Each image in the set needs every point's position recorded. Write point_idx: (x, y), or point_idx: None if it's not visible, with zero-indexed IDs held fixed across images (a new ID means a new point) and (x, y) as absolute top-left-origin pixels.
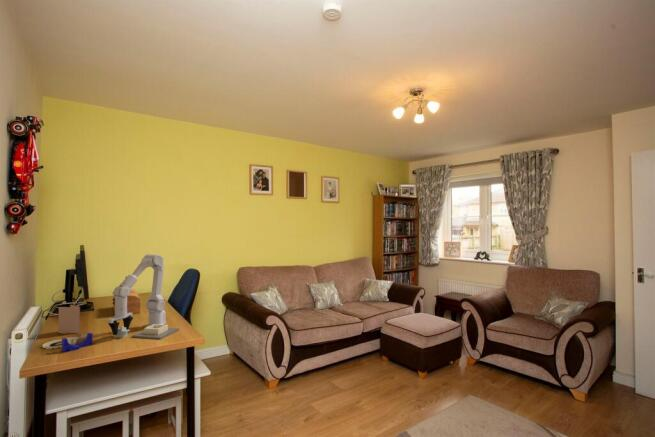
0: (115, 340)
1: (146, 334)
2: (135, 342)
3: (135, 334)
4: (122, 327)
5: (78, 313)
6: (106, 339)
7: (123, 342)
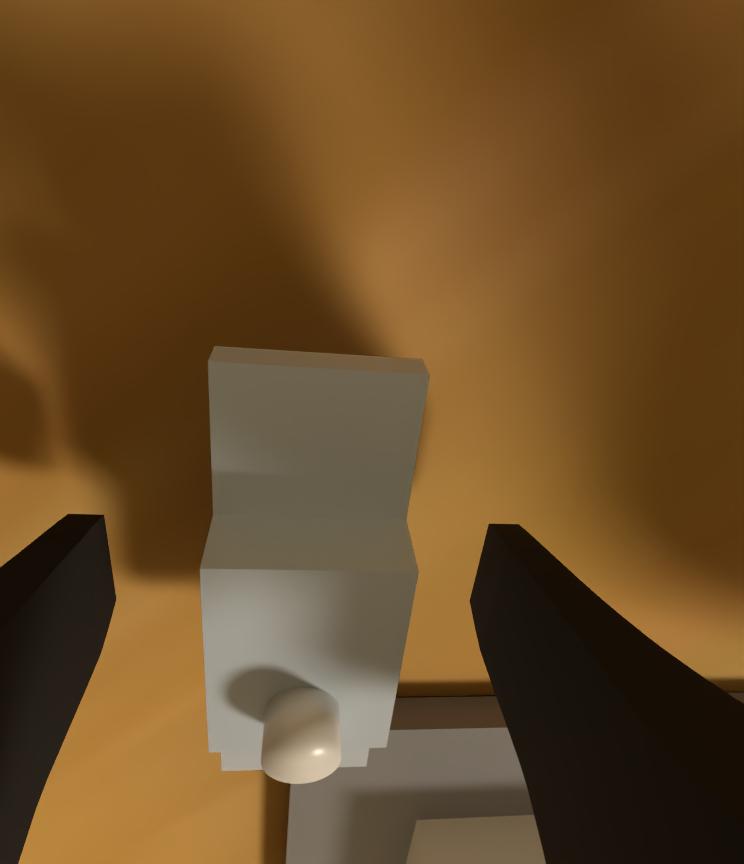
0: None
1: (375, 860)
2: (89, 861)
3: None
4: (271, 759)
5: None
6: (14, 305)
7: None
